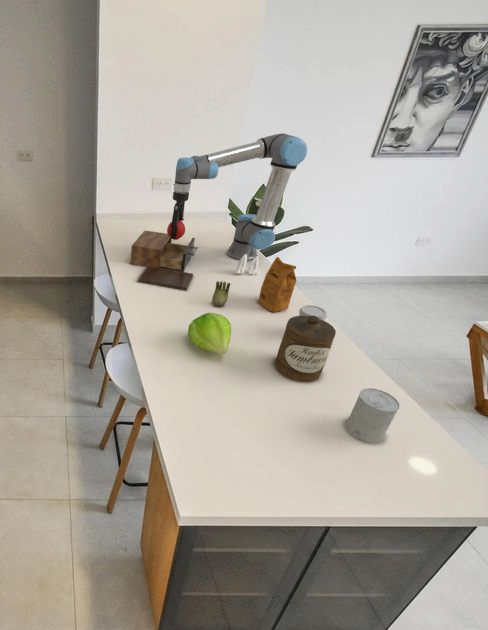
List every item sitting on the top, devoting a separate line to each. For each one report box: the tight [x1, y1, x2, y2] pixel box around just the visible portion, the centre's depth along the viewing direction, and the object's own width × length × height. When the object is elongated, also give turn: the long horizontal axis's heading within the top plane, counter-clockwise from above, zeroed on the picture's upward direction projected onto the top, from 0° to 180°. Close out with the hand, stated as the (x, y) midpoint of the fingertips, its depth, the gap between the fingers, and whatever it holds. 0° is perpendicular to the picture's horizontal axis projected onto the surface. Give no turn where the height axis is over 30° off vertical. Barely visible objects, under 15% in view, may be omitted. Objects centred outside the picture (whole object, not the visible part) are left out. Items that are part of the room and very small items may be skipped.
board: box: [137, 266, 194, 292], centre depth 213 cm, size 24×17×2 cm
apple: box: [166, 220, 186, 241], centre depth 214 cm, size 9×9×10 cm
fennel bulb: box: [211, 280, 231, 308], centre depth 187 cm, size 6×5×12 cm
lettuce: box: [187, 312, 232, 356], centre depth 159 cm, size 15×20×14 cm
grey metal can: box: [345, 387, 401, 444], centre depth 122 cm, size 10×10×12 cm
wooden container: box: [274, 315, 336, 383], centre depth 145 cm, size 15×15×22 cm
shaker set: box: [235, 254, 260, 276], centre depth 214 cm, size 12×4×11 cm, turn 97°
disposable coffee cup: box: [298, 304, 328, 321], centre depth 165 cm, size 10×10×12 cm
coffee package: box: [257, 256, 297, 313], centre depth 183 cm, size 10×12×22 cm
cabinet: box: [130, 230, 173, 268], centre depth 233 cm, size 16×25×11 cm, turn 155°
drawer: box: [160, 237, 199, 272], centre depth 228 cm, size 20×25×10 cm
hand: (175, 235), depth 216 cm, fingers closed on apple, 9 cm apart
